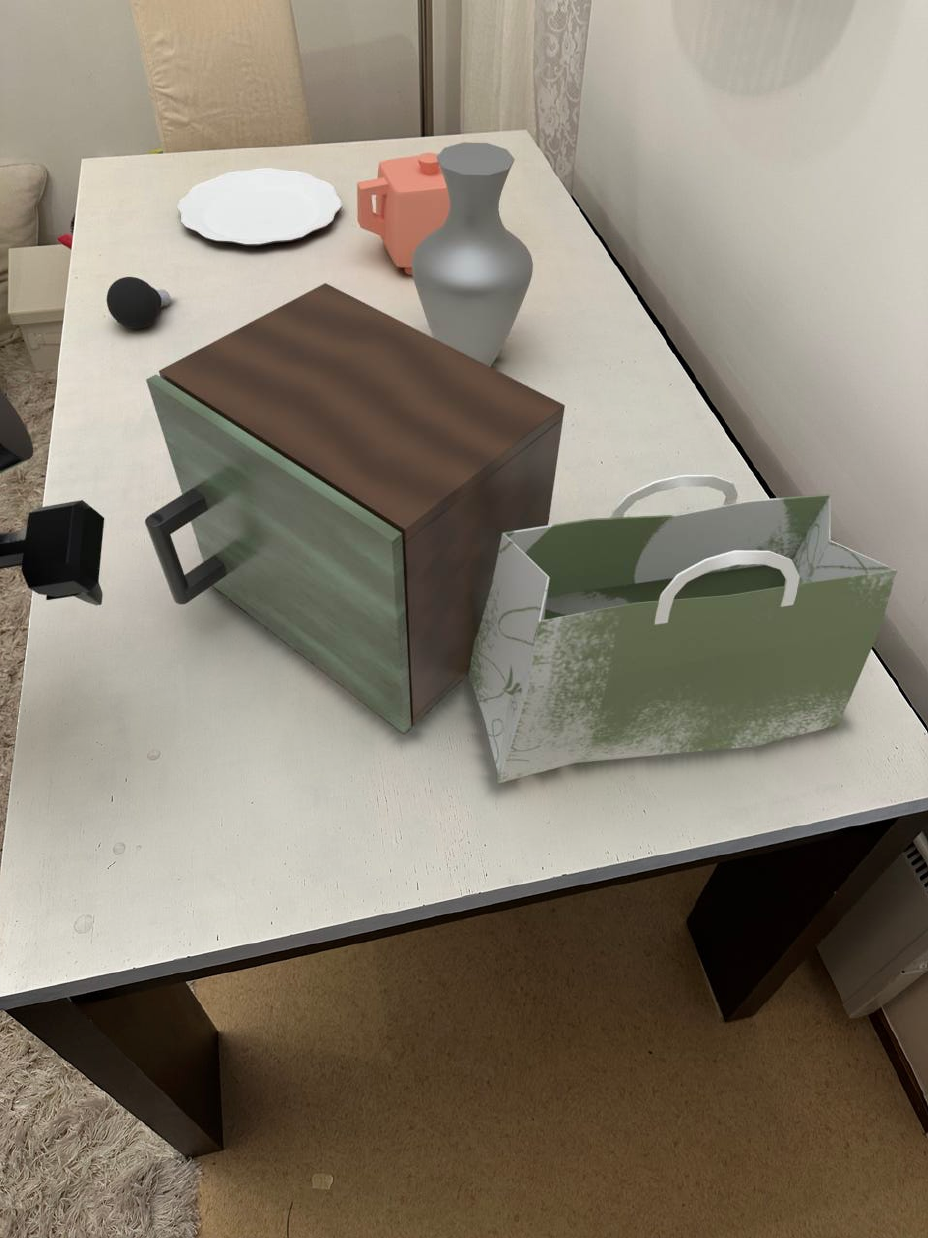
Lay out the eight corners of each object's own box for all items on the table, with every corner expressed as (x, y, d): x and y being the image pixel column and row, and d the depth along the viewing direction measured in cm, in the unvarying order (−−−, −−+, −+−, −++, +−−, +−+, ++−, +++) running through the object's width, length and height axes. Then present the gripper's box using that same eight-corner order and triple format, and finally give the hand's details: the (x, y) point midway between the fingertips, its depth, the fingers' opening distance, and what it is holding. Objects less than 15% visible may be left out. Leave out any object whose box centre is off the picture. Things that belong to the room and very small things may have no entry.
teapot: (488, 226, 133) (493, 129, 122) (516, 265, 125) (523, 166, 114) (352, 244, 128) (344, 145, 117) (372, 286, 121) (365, 185, 110)
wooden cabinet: (413, 726, 74) (405, 529, 56) (220, 578, 85) (158, 370, 66) (536, 609, 83) (565, 404, 64) (348, 488, 94) (325, 282, 75)
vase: (545, 353, 111) (567, 152, 92) (482, 406, 104) (492, 200, 84) (457, 316, 116) (461, 119, 97) (391, 364, 109) (381, 160, 89)
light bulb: (181, 271, 114) (130, 278, 106) (190, 321, 117) (141, 332, 108) (143, 272, 116) (90, 279, 108) (153, 321, 119) (102, 331, 111)
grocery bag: (774, 615, 84) (865, 428, 66) (840, 733, 76) (965, 554, 58) (460, 663, 80) (466, 475, 62) (492, 794, 71) (510, 620, 53)
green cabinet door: (361, 775, 71) (333, 586, 52) (166, 615, 82) (86, 410, 63) (411, 727, 74) (402, 532, 56) (218, 578, 85) (156, 373, 66)
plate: (217, 172, 143) (215, 160, 141) (360, 189, 140) (359, 177, 139) (154, 243, 127) (150, 230, 126) (313, 263, 124) (312, 251, 123)
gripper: (-274, 657, 51) (-75, 721, 65) (6, 613, 48) (149, 689, 62) (-231, 496, 55) (-53, 589, 69) (28, 448, 52) (158, 555, 67)
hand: (46, 607), depth 67 cm, fingers open, 9 cm apart
